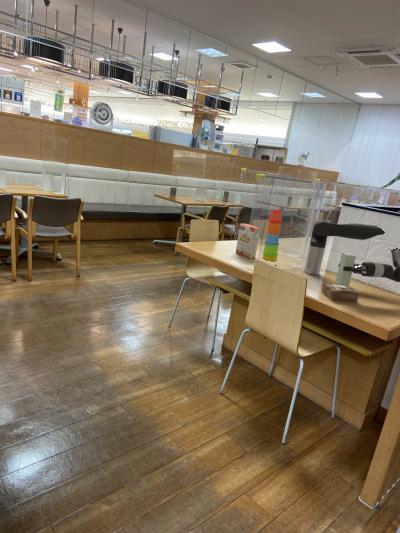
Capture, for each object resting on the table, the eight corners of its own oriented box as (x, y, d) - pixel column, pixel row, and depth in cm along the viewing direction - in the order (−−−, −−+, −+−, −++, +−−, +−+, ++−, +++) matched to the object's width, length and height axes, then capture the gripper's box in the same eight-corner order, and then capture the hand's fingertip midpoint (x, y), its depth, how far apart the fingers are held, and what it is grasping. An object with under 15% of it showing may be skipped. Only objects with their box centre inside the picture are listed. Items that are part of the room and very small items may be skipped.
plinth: (321, 291, 206) (323, 282, 204) (345, 293, 208) (348, 284, 206) (330, 300, 194) (333, 290, 193) (356, 302, 196) (359, 292, 195)
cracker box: (234, 253, 265) (239, 223, 260) (241, 252, 269) (246, 223, 263) (248, 258, 255) (254, 227, 249) (255, 258, 259) (260, 227, 253)
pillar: (335, 282, 201) (342, 252, 197) (344, 282, 202) (351, 253, 197) (339, 285, 196) (346, 254, 192) (348, 286, 197) (356, 255, 193)
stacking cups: (273, 267, 241) (283, 212, 231) (258, 263, 245) (267, 209, 236) (279, 265, 249) (289, 211, 240) (264, 261, 254) (273, 209, 245)
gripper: (366, 259, 204) (336, 256, 202) (381, 266, 191) (349, 263, 188) (363, 272, 206) (333, 269, 204) (377, 281, 193) (345, 278, 190)
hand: (341, 266), depth 196 cm, fingers closed on pillar, 5 cm apart
